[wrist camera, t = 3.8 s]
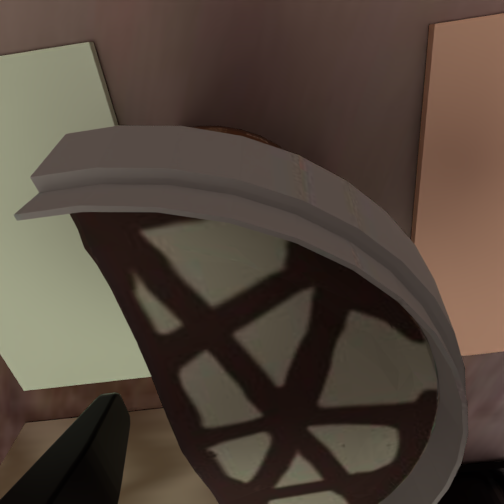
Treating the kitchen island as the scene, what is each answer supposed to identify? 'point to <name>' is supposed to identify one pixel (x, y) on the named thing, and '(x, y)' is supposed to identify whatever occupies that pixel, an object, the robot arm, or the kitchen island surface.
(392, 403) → the food container
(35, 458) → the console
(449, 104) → the plate
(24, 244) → the sage bay
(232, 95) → the kitchen island surface
